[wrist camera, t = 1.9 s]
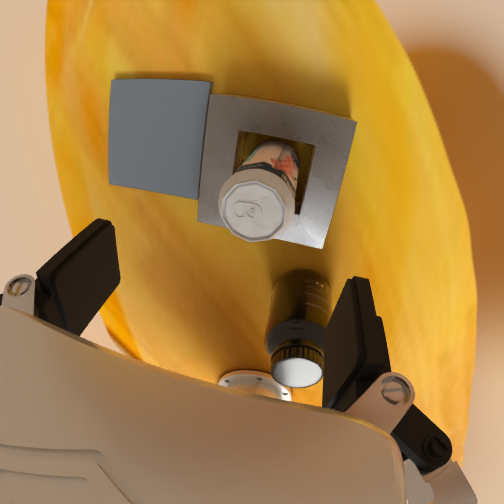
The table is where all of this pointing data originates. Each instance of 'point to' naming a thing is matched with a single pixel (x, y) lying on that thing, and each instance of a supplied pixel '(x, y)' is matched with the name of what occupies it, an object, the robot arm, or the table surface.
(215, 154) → the gray square frame
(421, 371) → the table surface
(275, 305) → the supplement bottle
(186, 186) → the mat
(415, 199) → the table surface
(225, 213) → the beer can
